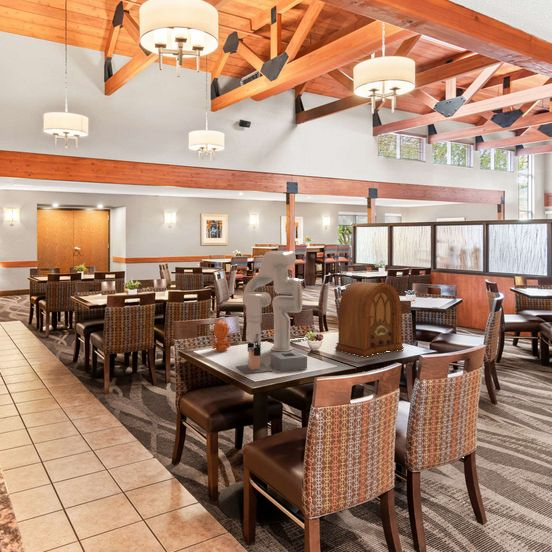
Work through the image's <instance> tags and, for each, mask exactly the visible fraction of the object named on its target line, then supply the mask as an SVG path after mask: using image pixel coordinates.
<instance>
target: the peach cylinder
mask: <svg viewBox="0 0 552 552" xmlns="http://www.w3.org/2000/svg"><path fill="white" fill-rule="evenodd" d="M254 348H255V346H254V347H248V346H247V351H248V350H249V352H248V365H249V368H250V369H251V370H253V369H260V364H261V355H260V356H254Z"/></svg>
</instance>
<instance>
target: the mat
mask: <svg viewBox="0 0 552 552" xmlns="http://www.w3.org/2000/svg"><path fill="white" fill-rule="evenodd" d="M236 367H237V368H236V369H237V370H239V371H240V372H241V373H242V372H243V375H251V374H252V375H253V374H261V373H263V374H265V373H271V372H273V369H271V368H270V367H268V366H266V365H265V364H264V363H260V369H253V370H251V369H250V368H249V364H247V365H245V364H244V365H236Z"/></svg>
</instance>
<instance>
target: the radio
mask: <svg viewBox="0 0 552 552" xmlns="http://www.w3.org/2000/svg"><path fill="white" fill-rule="evenodd" d="M402 315H403V312H402V303H401V298H400V295H399V292H398V290H397V289H396V288H395V287H394V286H393V285H391V284H390V283H387V282H367V281H366V282H365V281H355V282H351V284H349V285H348V286H347V287H346V288H345V290H344V291H343V292H342V295H341V297H340V302H339V305H338V337H337V338H338V342H336V343H335V344H336V346H335V347H334V349H335V351H336V350H339V351H338V352H340V351H343V352H342V353H344V352H347V353H346V354H348V353H350V354H349V355H352V354H355V355H354V356H356V355H358V356H357V357H360V356H363V357H362V358H364V357H366V358H368V357H367V356H371V355H372V354H376V355H378V354H377V353H384V352H386V351H397V350H402V349H403V350H404V348H405V347H404V346H403V344H404V343H403V342H402V325H403V324H402V323H403V321H402V320H403V319H402V318H403V317H402ZM403 350H402V351H403ZM397 352H398V351H397ZM386 353H387V352H386ZM384 354H385V353H384ZM372 356H373V355H372ZM372 356H371V357H372Z"/></svg>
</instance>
